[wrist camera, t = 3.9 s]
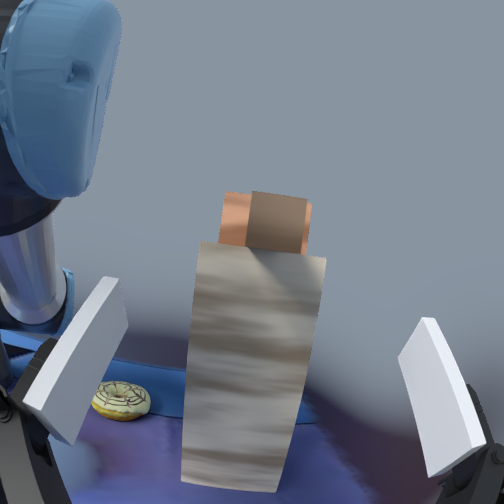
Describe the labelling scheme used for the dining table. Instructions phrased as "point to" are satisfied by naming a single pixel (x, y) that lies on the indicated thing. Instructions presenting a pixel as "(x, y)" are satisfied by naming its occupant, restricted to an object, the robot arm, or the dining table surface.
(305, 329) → the stand
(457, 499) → the robot arm
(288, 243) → the wooden mallet
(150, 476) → the dining table surface
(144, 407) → the decorated donut
